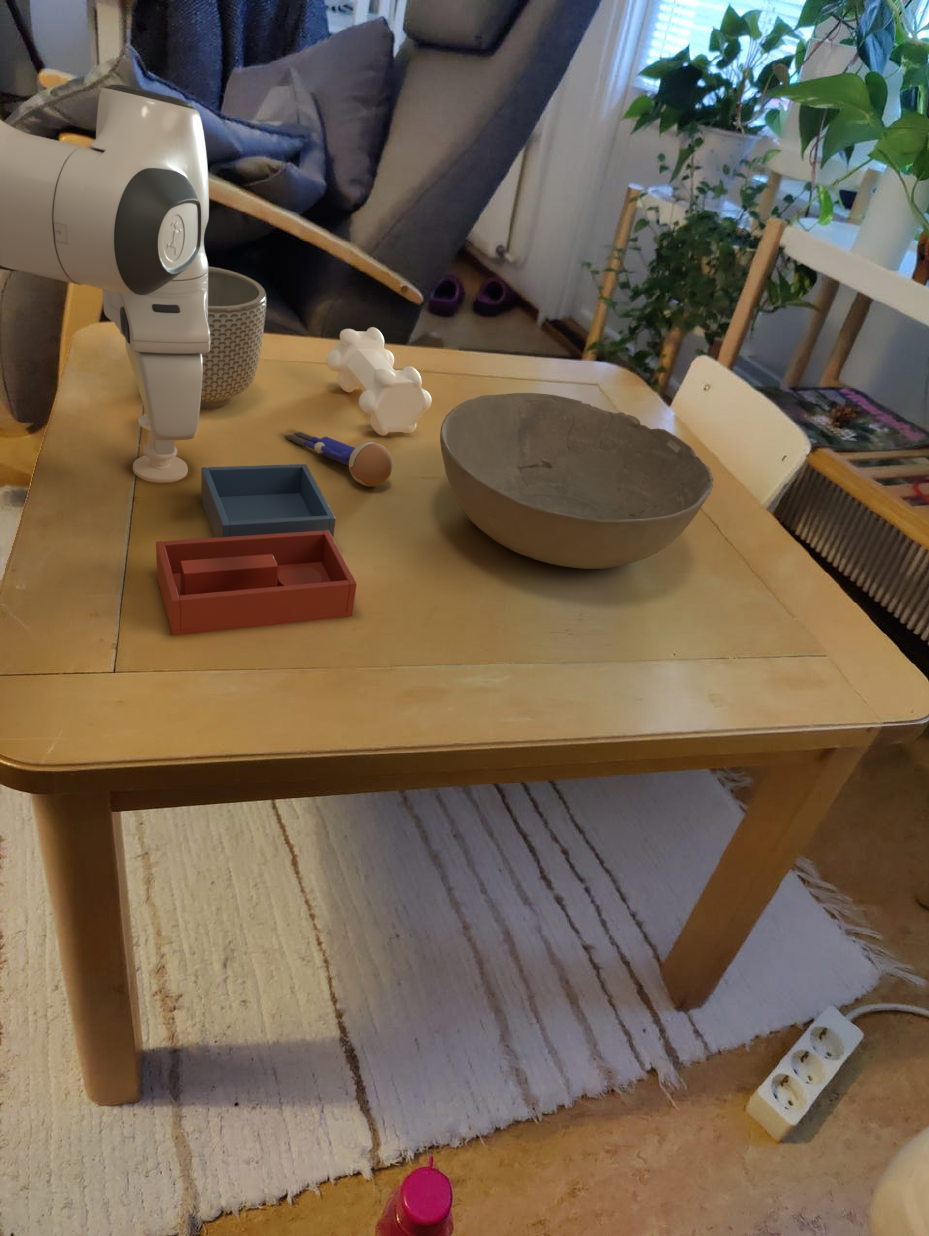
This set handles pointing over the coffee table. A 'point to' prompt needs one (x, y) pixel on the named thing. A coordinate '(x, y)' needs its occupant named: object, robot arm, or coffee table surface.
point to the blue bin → (264, 500)
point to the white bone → (378, 381)
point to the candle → (158, 461)
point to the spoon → (241, 574)
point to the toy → (352, 457)
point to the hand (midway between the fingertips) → (159, 438)
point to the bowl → (570, 479)
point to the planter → (231, 336)
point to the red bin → (263, 602)
